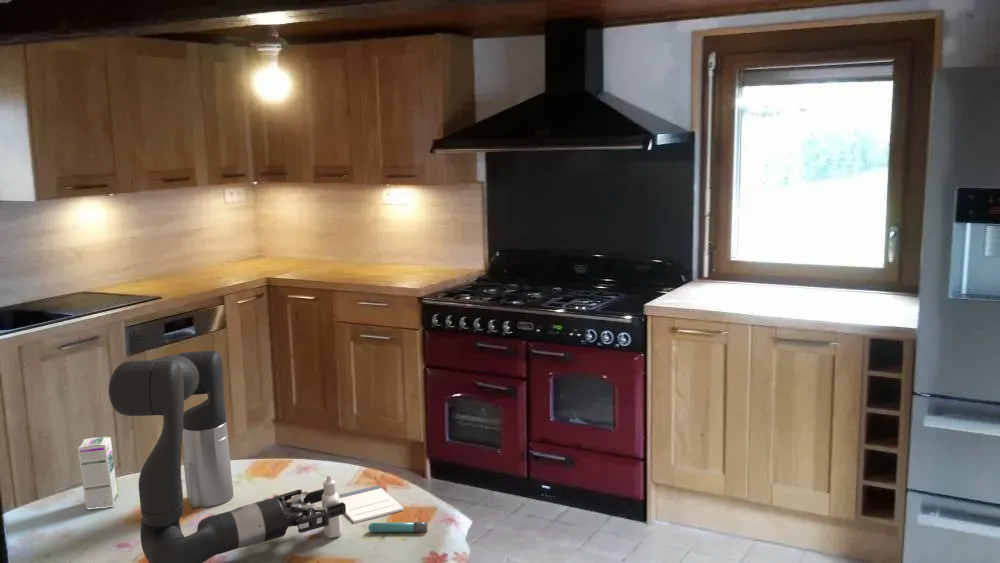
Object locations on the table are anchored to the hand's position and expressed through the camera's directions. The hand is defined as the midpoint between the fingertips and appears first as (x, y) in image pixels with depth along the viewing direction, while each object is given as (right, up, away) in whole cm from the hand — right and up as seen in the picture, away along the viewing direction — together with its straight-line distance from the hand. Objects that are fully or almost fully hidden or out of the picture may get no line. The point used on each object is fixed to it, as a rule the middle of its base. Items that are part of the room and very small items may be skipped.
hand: (335, 500), depth 176 cm
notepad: (+4, -4, +13) cm, 14 cm away
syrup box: (-54, -6, +18) cm, 58 cm away
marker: (+12, -6, 0) cm, 14 cm away
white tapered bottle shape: (-1, -7, +1) cm, 7 cm away
